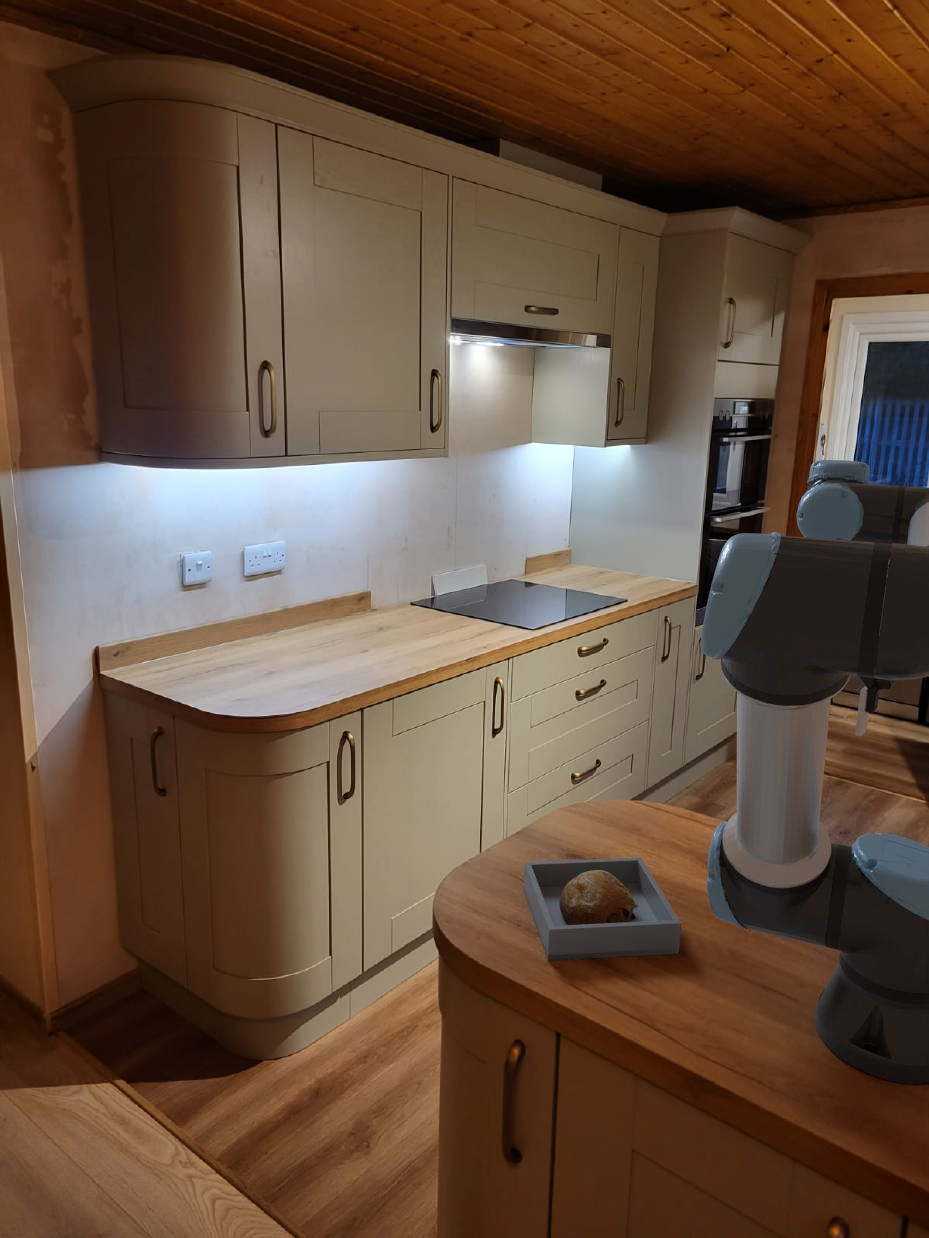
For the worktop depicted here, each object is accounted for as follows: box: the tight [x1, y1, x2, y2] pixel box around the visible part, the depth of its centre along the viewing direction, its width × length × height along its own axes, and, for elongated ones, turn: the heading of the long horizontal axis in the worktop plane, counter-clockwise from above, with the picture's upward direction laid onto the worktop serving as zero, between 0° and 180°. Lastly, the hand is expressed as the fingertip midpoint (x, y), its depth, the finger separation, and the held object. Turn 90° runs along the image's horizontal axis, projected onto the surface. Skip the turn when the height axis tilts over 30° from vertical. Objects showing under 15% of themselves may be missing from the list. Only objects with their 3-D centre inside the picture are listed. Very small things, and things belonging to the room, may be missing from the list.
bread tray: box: [523, 856, 682, 961], centre depth 130 cm, size 18×18×4 cm
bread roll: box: [560, 870, 638, 925], centre depth 130 cm, size 10×10×8 cm
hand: (810, 722), depth 133 cm, fingers open, 13 cm apart
